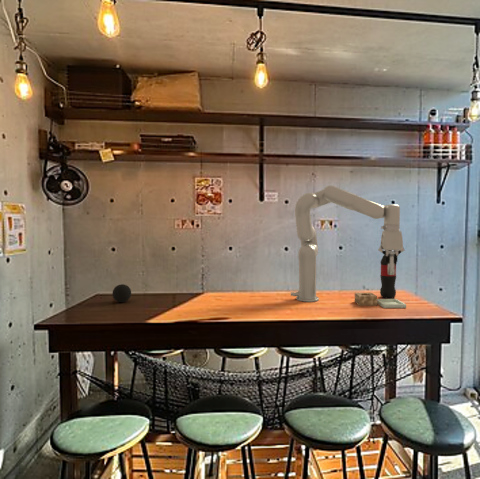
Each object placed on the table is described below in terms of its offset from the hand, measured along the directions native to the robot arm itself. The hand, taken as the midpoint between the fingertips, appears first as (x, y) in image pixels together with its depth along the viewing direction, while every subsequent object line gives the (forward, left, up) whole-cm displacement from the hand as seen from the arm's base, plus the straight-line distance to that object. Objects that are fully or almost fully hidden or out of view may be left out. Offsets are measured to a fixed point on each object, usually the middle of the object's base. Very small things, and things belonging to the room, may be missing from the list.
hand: (391, 263), depth 191 cm
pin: (0, 0, -6) cm, 6 cm away
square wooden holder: (-12, +3, -22) cm, 26 cm away
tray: (0, 0, -22) cm, 22 cm away
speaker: (-146, +7, -23) cm, 147 cm away
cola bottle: (+5, +18, -23) cm, 29 cm away
